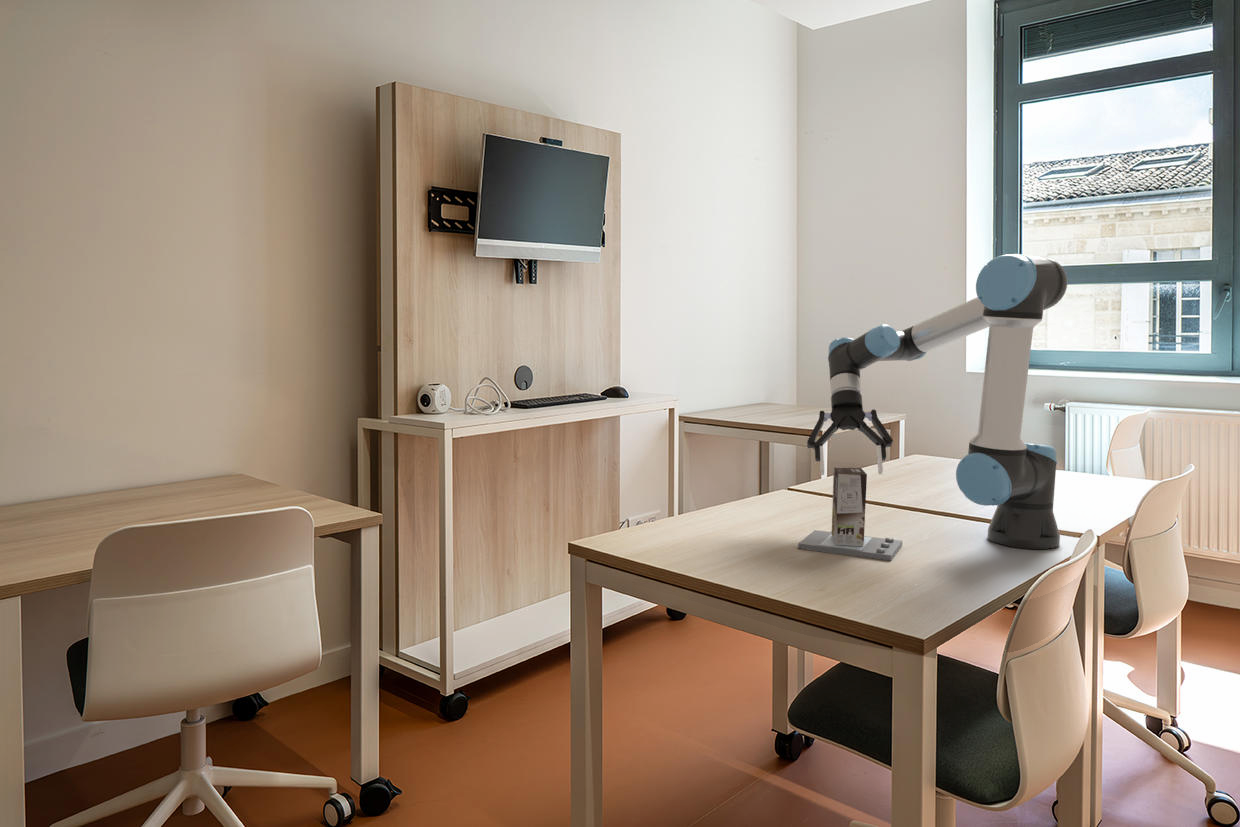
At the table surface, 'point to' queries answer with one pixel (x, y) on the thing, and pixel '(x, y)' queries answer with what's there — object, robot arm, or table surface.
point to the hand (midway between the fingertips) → (851, 472)
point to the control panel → (871, 548)
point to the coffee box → (849, 506)
